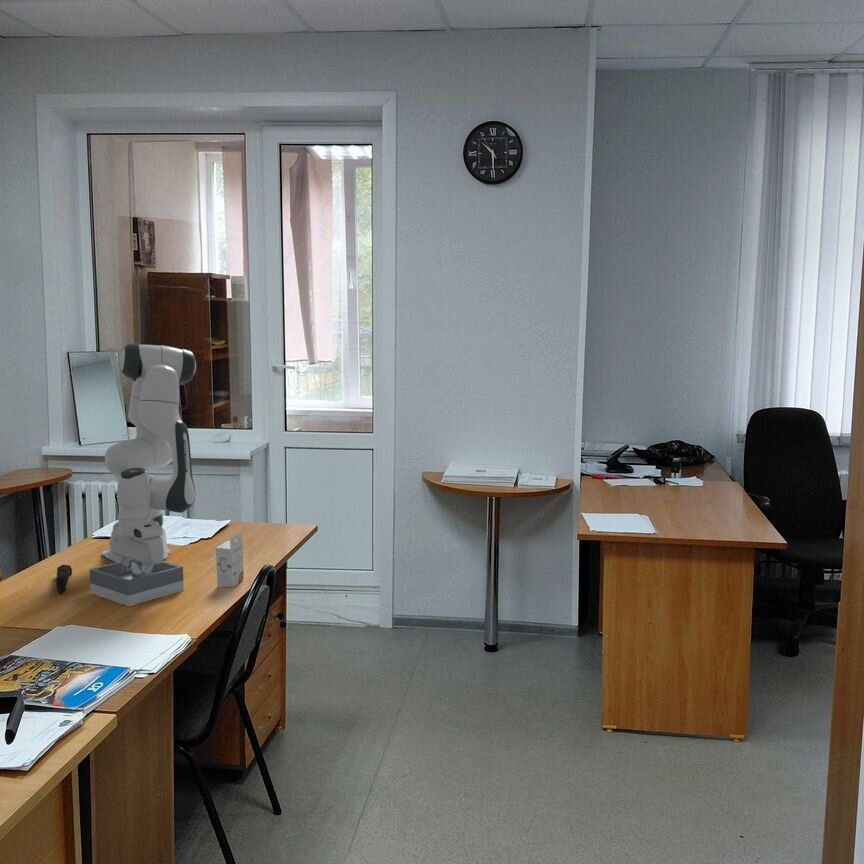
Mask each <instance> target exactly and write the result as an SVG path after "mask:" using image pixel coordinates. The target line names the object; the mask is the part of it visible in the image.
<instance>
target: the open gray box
mask: <svg viewBox="0 0 864 864" xmlns="http://www.w3.org/2000/svg"><path fill="white" fill-rule="evenodd" d="M128 561H129V565H131V561H132V559H130V560H128ZM89 583H90V584H89V586H90V594H91V593H92V595H94V594H96V595H95V596H97V595H99V596H98V597H100V596H102V597H104V598H103V599H105V598H107V599H106V600H108V599H110V600H109V601H111V600H113V601H112V602H114V601H116V602H115V603H117V602H119V603H118V604H120V603H122V604H121V605H123V604H125V605H124V606H126V605H128V606H129V607H131V606H130V605H132V606H134V605H133V604H136V605H139V604H142V603H141V602H143V603H146V602H149V600H150V601H152V599H153V600H155V599H156V600H157V599H159V597H160V598H162V597H167V596H169V595H172V594H173V593H174V594H176V593H180V592H183V590H185V589H184V588H185V587H184V583H185V582H184V566H182V565H178V564H174V563H172V562H168V561H164V560H162V562H161V563H159V564H156V565H154V566H153V569H152V571H151V574H149V575H145V576H141V577H138V578H134V579H132V569H131V571H130V572H124V571H123V565H122V564H121V562H117V563H115V562H114V563H110V564H106V565H102V566H97V567H93V568H90V569H89ZM102 597H101V598H102ZM145 601H146V602H145ZM138 603H139V604H138ZM128 606H127V607H128Z"/></svg>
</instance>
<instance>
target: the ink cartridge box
mask: <svg viewBox="0 0 864 864" xmlns="http://www.w3.org/2000/svg"><path fill="white" fill-rule="evenodd" d="M242 533H243V532H242V531H239V532H238V533H236V534H235V535H234V534H233V536H231V537H230V538H229V540H226V541H225V542H224V543H221V544H220V545H218V546H217V547H215V556H216V557H215V558H216V582H217V583H216V584H217V587H219V586H220V587H221V588H222V587H223V588H233V587H235V586H236V585H238V584H239V583H240V582H242V581H243V580H244V542H243V534H242ZM236 539H237V540H236Z"/></svg>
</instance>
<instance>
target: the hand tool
mask: <svg viewBox="0 0 864 864" xmlns="http://www.w3.org/2000/svg"><path fill="white" fill-rule="evenodd" d="M72 569H73V568H72V566H71V565H70V564H69V565H68V564H62V565H60V566H59V565H58V567H57V570H56V578H55V588H56V593H57V592H58V593H57V594H58V595H59V596H61V595H63V594H64V593H65V592H66V591H67V585H68V582H69V579H70V577H72V575H73V570H72ZM69 576H70V577H69Z"/></svg>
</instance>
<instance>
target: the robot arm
mask: <svg viewBox="0 0 864 864" xmlns="http://www.w3.org/2000/svg"><path fill="white" fill-rule="evenodd" d="M195 356H196V355H194V354H193V352H192V351H190V350H188V349H185V348H181V349H180V348H177V347H174V346H168V345H162V344H161V345H155V344H139V343H129V344H128V343H127V344H126V345H125V346H124V347H123V349H122V351H121V353H120V355H119V363H118V364H119V367H120V372H121V373H122V374H123V376H125V377H126V378H128V379H131V380H132V381H133V382H132V385H131V391H130V393H131V394H130V397H129V398H130V399H129V405H128V413H127V417H128V420H129V421H130V423H131V424H132V425H134V426H135V430H136V431H135V432H136V435H135V438H132V439H127V440H126V439H125V440H121V441H119V442H116V443H114V444H112V445H111V446H109V447H108V448H107V450H106V451H105V454H104V464H105V466H106V468H107V470H108V471H109V472H110V474H113V475H114V476H115V478H117V492H116V493H117V494H116V495H117V496H116V497H117V498H116V499H117V505H118V507H119V511H118V515H117V518H118V519H117V521H118V522H115V523H114V525H113V526H112V531H111V534H110V536H109V537H110V538H109V548H108V549H106V550H104V551H102V552H101V556H102V555H103V557H104V556H105V557H104V558H106V559H108V560H110V561H112V562H114V563H115V562H116V563H117V562H121V564H122V565H123V571H124V572H130V571H131V565H129V561H128V560H130V559H132V560H135V561H139V562H142V563H144V566H145V567H146V568H145V571H143V576H145V575H149V574H151V571H152V569H153V566H154V565H156V564H159V563H161V562H162V561H164V560H165V559H168V557H169V554H171V549H169V548H168V543H167V535H166V529H165V528H164V527H163V525H164V517H163V513H162V511H169V512H171V513H172V512H173V513H179V514H181V513H184V512H185V511H187V510H188V509H190V507H192V506H193V504H194V503H195V500H196V489H195V488H196V487H195V483H194V477H193V470H192V469H193V468H192V454H191V444H190V443H191V442H190V433H189V430H188V426H187V424H186V423H185V422H183V420H182V418H181V416H180V409H179V407H180V385H181V384H187V383H189V382H190V381H192V380H193V378H194V376H195V373H196V371H197V361H196V357H195ZM170 463H172V470H173V475H172V476H159V475H153V474H150V473H149V472H150V471H154V470H159V469H161V468H162V469H163V468H164V467H165V466H167V465H169V464H170Z"/></svg>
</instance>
